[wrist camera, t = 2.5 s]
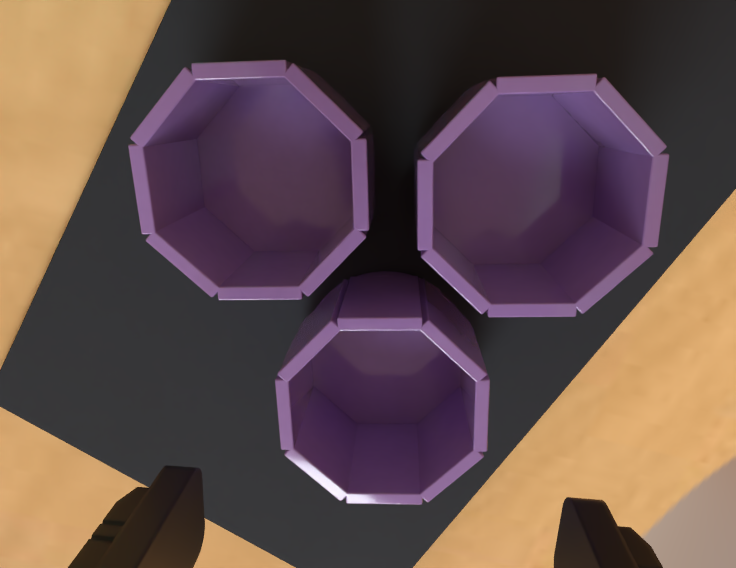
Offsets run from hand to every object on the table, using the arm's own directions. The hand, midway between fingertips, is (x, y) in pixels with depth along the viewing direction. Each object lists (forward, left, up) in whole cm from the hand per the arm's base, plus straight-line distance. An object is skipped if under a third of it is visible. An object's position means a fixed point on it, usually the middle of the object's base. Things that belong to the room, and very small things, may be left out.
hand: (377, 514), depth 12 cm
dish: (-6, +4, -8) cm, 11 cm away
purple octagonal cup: (-7, -3, -8) cm, 11 cm away
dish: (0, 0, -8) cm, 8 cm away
